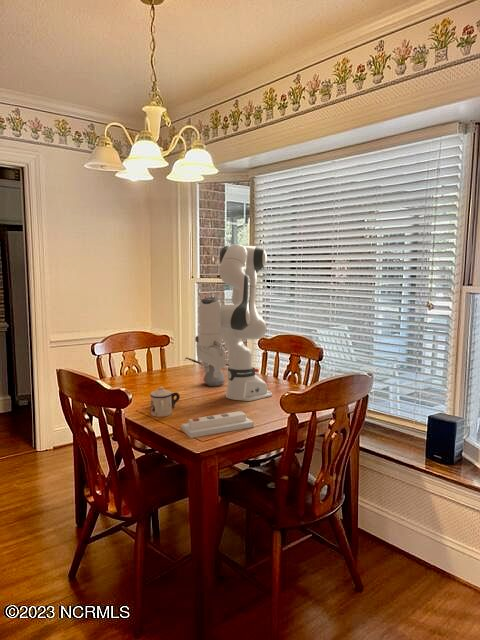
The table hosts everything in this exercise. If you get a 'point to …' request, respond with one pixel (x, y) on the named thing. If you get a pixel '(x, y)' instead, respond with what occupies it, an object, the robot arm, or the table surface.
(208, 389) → the table surface
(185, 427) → the plate
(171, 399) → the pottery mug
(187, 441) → the table surface
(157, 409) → the teacup with lid
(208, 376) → the coffee pot
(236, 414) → the power strip
